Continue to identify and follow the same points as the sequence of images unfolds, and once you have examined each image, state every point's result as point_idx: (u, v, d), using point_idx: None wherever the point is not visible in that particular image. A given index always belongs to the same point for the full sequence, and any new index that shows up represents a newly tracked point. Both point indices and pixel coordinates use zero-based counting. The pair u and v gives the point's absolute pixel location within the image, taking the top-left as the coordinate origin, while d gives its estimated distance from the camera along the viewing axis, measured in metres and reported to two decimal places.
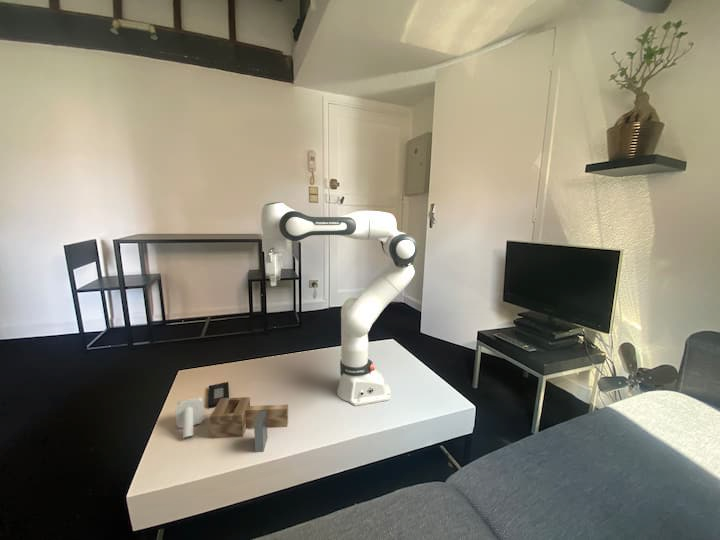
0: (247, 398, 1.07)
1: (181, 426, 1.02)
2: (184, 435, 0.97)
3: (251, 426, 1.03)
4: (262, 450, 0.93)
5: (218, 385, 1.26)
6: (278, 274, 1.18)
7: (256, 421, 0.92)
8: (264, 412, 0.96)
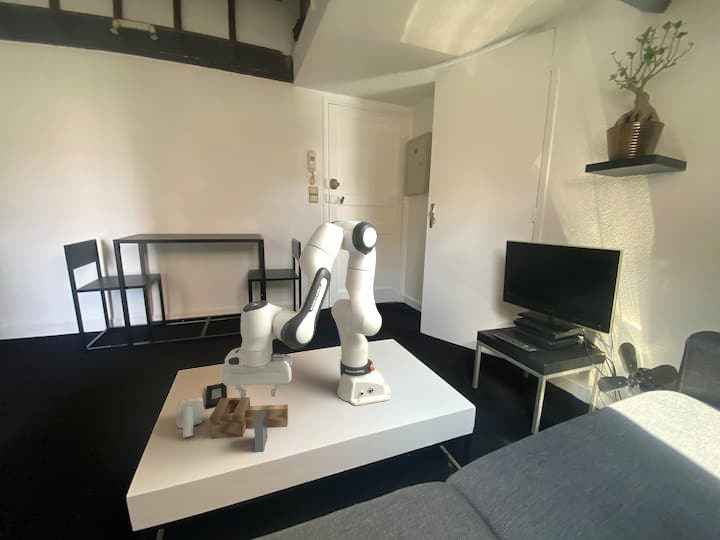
0: (247, 398, 1.07)
1: (181, 426, 1.02)
2: (184, 435, 0.97)
3: (251, 426, 1.03)
4: (262, 450, 0.93)
5: (216, 385, 1.26)
6: (241, 389, 0.92)
7: (256, 421, 0.92)
8: (264, 412, 0.96)
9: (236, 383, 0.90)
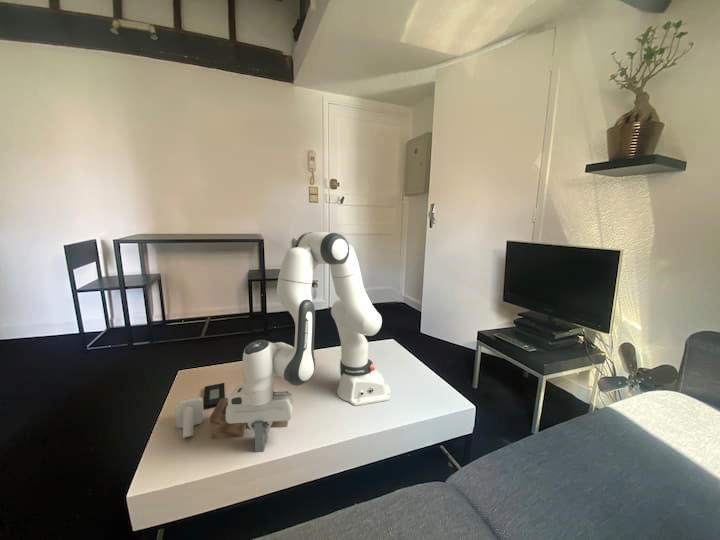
0: None
1: (181, 426, 1.02)
2: (184, 435, 0.97)
3: None
4: (262, 450, 0.93)
5: (214, 386, 1.25)
6: (253, 425, 0.95)
7: (256, 421, 0.92)
8: None
9: (239, 421, 0.92)
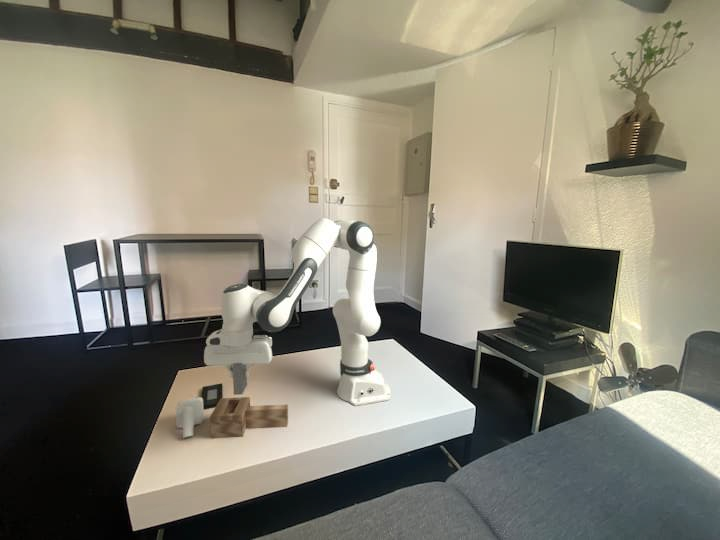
0: (247, 398, 1.07)
1: (181, 426, 1.02)
2: (184, 435, 0.97)
3: (251, 426, 1.03)
4: (240, 393, 0.94)
5: (212, 386, 1.25)
6: (232, 369, 0.96)
7: (235, 363, 0.93)
8: None
9: (217, 363, 0.93)
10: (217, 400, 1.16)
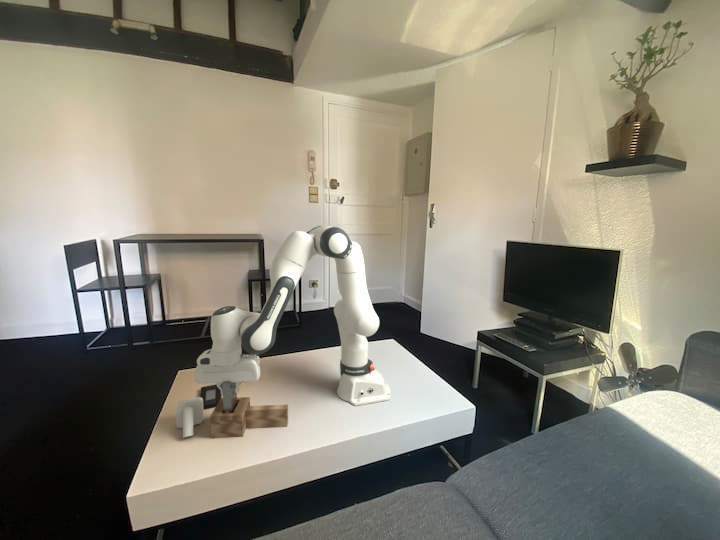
0: (247, 398, 1.07)
1: (181, 426, 1.02)
2: (184, 435, 0.97)
3: (251, 426, 1.03)
4: (230, 409, 0.99)
5: (210, 387, 1.25)
6: None
7: (224, 381, 0.98)
8: None
9: (208, 381, 0.98)
10: (215, 400, 1.16)
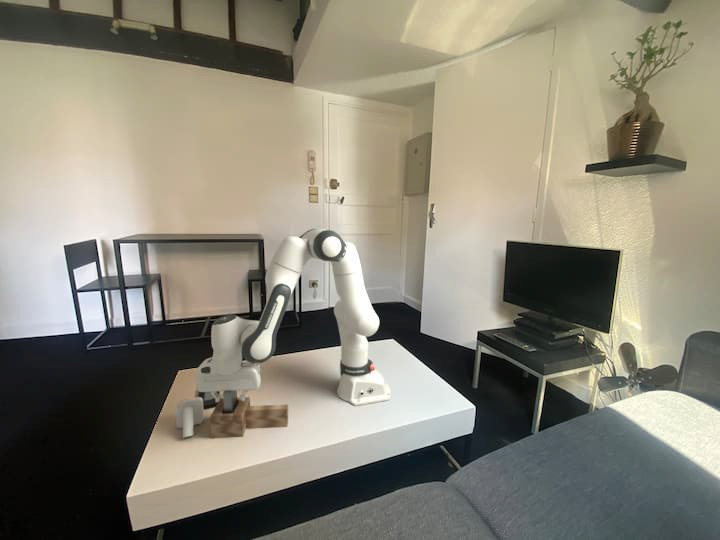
0: (247, 398, 1.07)
1: (181, 426, 1.02)
2: (184, 435, 0.97)
3: (251, 426, 1.03)
4: None
5: None
6: (217, 394, 1.01)
7: (225, 391, 0.99)
8: None
9: (209, 390, 0.99)
10: (214, 401, 1.16)
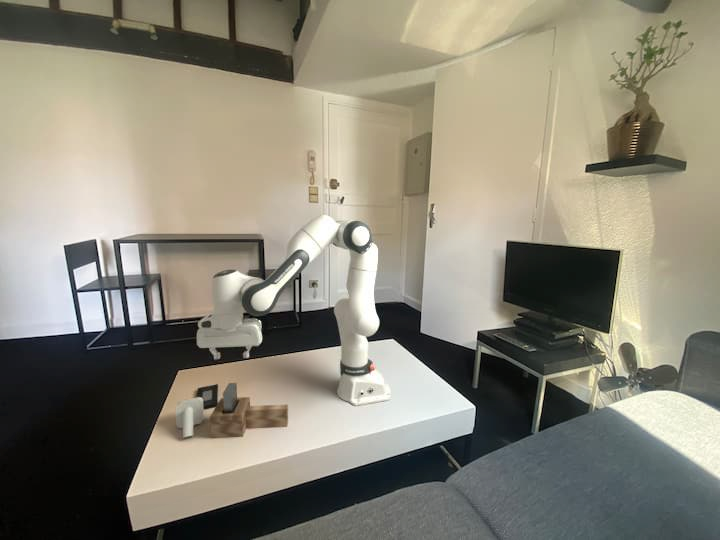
0: (247, 398, 1.07)
1: (181, 426, 1.02)
2: (184, 435, 0.97)
3: (251, 426, 1.03)
4: None
5: (207, 387, 1.24)
6: (216, 352, 1.00)
7: (225, 391, 0.99)
8: (234, 384, 1.03)
9: (210, 345, 0.97)
10: (212, 401, 1.15)
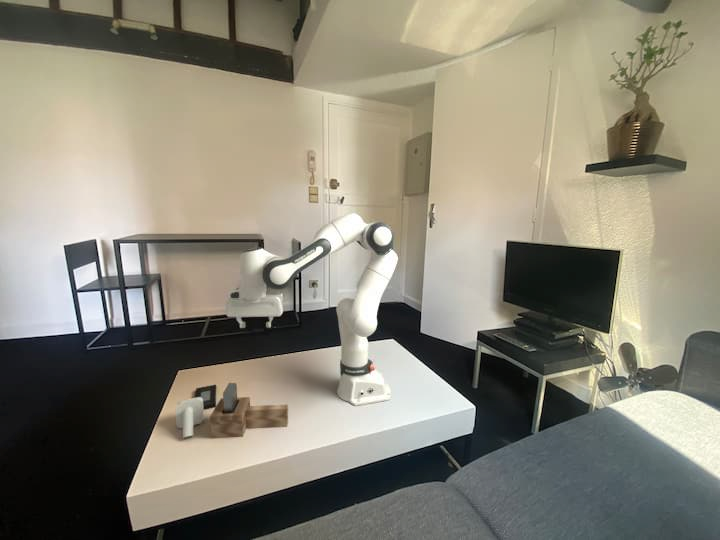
0: (247, 398, 1.07)
1: (181, 426, 1.02)
2: (184, 435, 0.97)
3: (251, 426, 1.03)
4: None
5: (205, 388, 1.24)
6: (241, 321, 1.12)
7: (225, 391, 0.99)
8: (234, 384, 1.03)
9: (237, 315, 1.09)
10: (210, 402, 1.15)
